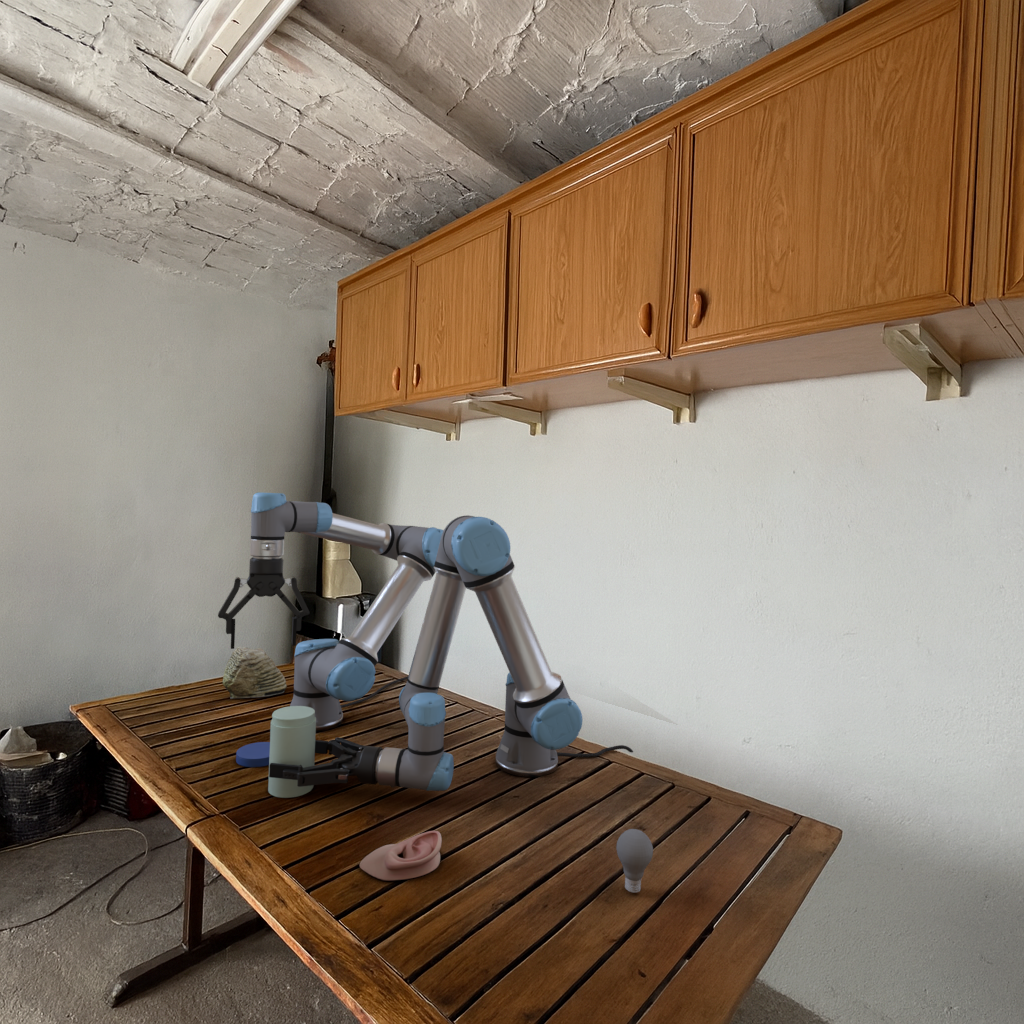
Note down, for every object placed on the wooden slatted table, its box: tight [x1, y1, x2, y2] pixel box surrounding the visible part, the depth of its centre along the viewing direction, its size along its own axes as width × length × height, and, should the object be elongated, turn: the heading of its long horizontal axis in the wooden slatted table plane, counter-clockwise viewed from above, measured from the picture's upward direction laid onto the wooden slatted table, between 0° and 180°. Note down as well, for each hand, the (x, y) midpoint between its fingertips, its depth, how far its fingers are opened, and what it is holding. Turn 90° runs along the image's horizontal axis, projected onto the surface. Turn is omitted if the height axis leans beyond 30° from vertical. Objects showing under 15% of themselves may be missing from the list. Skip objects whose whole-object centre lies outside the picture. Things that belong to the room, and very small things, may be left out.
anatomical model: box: [359, 830, 443, 882], centre depth 111 cm, size 13×4×12 cm
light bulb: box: [615, 828, 654, 894], centre depth 106 cm, size 6×6×10 cm
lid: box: [235, 741, 270, 768], centre depth 152 cm, size 10×10×2 cm
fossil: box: [222, 646, 288, 699], centre depth 198 cm, size 9×18×15 cm, turn 132°
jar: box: [267, 705, 317, 799], centre depth 137 cm, size 9×9×16 cm
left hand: (263, 646), depth 151 cm, fingers open, 13 cm apart
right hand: (285, 756), depth 137 cm, fingers open, 13 cm apart
